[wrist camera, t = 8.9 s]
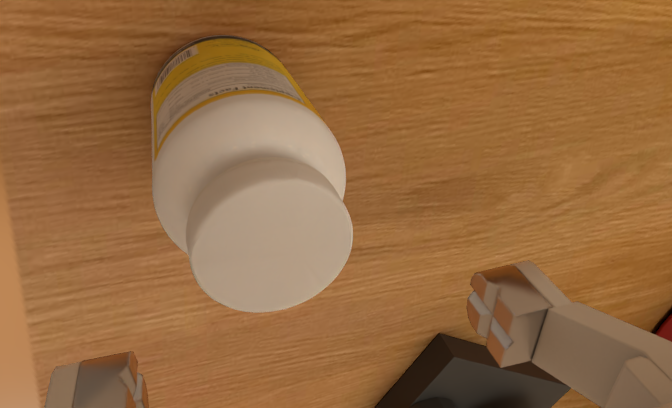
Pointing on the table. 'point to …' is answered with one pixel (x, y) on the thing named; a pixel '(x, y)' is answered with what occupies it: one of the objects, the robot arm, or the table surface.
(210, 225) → the pill bottle
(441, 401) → the scale
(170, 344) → the table surface
